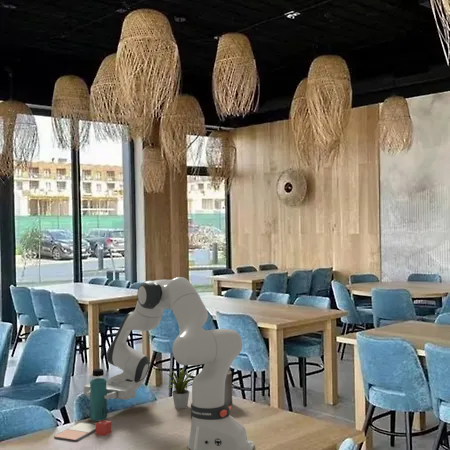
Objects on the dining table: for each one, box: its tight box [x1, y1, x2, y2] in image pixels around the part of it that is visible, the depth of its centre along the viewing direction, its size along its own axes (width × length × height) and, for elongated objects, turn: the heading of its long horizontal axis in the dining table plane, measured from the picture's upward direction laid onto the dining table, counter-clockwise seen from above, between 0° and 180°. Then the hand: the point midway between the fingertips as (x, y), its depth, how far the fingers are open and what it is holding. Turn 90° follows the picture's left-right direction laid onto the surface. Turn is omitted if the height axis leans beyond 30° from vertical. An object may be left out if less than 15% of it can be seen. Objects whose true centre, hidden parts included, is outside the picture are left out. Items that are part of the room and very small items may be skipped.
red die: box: [95, 419, 112, 437], centre depth 213 cm, size 4×4×4 cm
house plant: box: [164, 366, 196, 410], centre depth 243 cm, size 14×14×16 cm
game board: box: [53, 421, 96, 442], centre depth 214 cm, size 10×17×1 cm, turn 158°
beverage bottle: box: [89, 368, 108, 421], centre depth 226 cm, size 6×7×20 cm
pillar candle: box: [224, 369, 233, 407], centre depth 247 cm, size 10×10×15 cm
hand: (97, 396), depth 225 cm, fingers closed on beverage bottle, 6 cm apart
